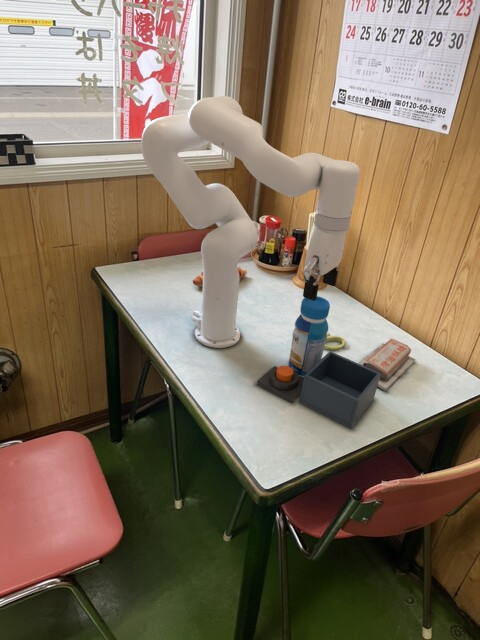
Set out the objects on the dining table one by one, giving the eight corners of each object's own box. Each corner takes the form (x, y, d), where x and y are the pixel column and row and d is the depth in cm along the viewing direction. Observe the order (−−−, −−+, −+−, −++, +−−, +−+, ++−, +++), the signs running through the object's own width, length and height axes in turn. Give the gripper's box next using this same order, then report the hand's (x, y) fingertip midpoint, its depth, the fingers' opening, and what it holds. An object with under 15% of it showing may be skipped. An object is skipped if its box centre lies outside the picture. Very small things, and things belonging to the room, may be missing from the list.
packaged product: (385, 332, 133) (419, 348, 128) (381, 347, 136) (414, 362, 131) (354, 358, 121) (390, 377, 116) (350, 374, 124) (385, 392, 119)
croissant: (240, 281, 171) (235, 259, 170) (256, 280, 162) (252, 256, 161) (188, 293, 159) (183, 270, 158) (203, 292, 151) (198, 267, 150)
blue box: (299, 401, 113) (304, 375, 109) (324, 376, 122) (329, 350, 118) (351, 428, 107) (358, 401, 102) (373, 399, 116) (381, 373, 112)
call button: (272, 377, 115) (273, 371, 114) (281, 369, 118) (282, 363, 117) (286, 384, 114) (288, 378, 113) (295, 376, 116) (296, 370, 115)
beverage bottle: (316, 382, 120) (330, 314, 109) (283, 374, 122) (294, 305, 111) (322, 364, 126) (336, 298, 116) (291, 356, 128) (302, 290, 118)
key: (314, 326, 143) (315, 320, 141) (348, 345, 135) (349, 339, 134) (298, 334, 138) (299, 327, 137) (332, 354, 131) (334, 347, 130)
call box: (256, 384, 117) (258, 374, 115) (274, 370, 123) (275, 359, 121) (291, 403, 112) (293, 392, 111) (308, 386, 118) (310, 376, 116)
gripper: (334, 208, 111) (322, 274, 120) (297, 226, 99) (286, 298, 107) (364, 216, 107) (349, 284, 116) (329, 236, 95) (316, 310, 104)
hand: (319, 291), depth 112 cm, fingers open, 9 cm apart
